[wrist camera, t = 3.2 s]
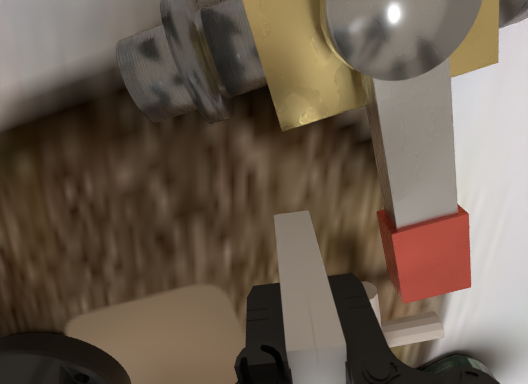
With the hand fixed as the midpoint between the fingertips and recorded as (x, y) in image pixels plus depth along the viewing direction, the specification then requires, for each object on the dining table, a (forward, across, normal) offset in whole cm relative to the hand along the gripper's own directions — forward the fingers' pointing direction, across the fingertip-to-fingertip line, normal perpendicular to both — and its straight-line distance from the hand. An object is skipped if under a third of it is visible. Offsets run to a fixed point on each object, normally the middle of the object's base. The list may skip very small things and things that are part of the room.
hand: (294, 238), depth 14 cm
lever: (+1, -5, -4) cm, 6 cm away
